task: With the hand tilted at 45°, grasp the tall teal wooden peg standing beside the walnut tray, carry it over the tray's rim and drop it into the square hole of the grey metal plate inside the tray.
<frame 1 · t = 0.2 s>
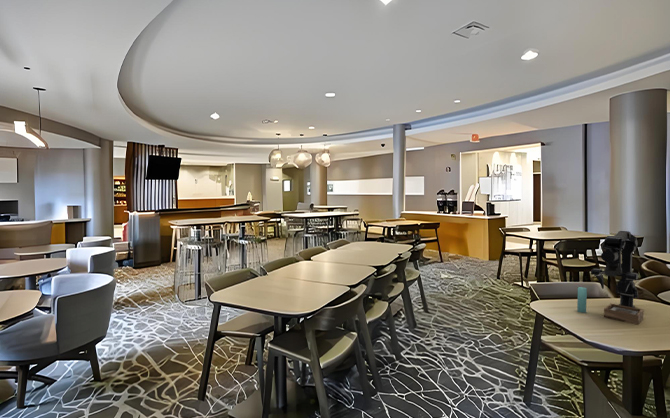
hand: (613, 290, 180), 14 cm above the table, tool pointing down, fingers open, 9 cm apart
tray: (623, 317, 180), on the table
peg: (581, 311, 190), on the table
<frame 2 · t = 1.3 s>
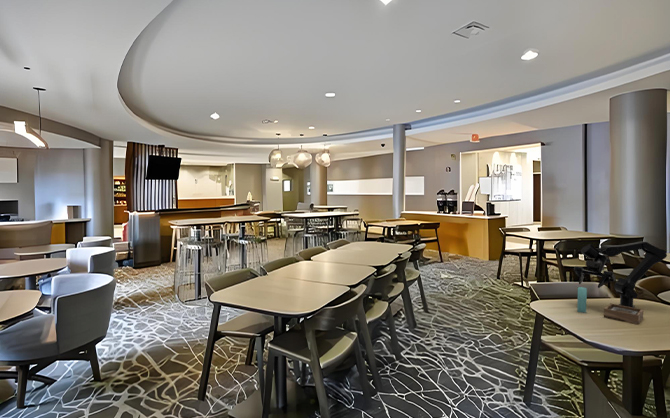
hand: (588, 285, 193), 13 cm above the table, tool tilted 45°, fingers open, 9 cm apart
nothing on the table moved.
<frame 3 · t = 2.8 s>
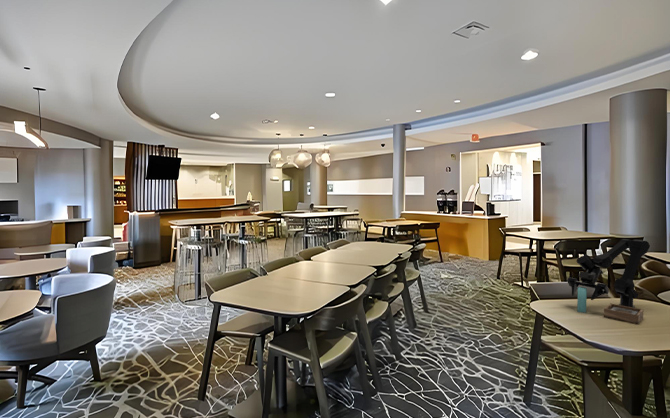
hand: (581, 297, 190), 8 cm above the table, tool tilted 45°, fingers open, 9 cm apart
nothing on the table moved.
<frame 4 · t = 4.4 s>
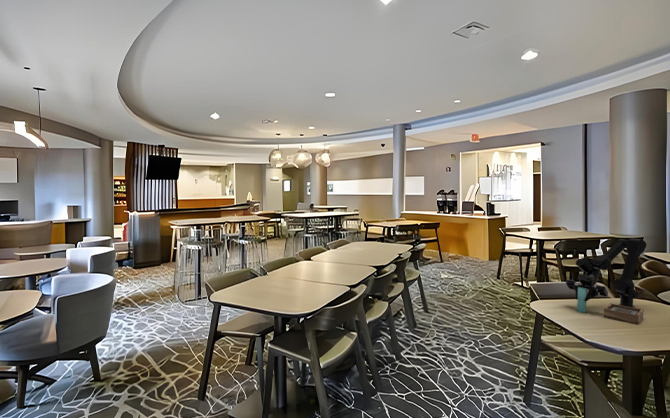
hand: (580, 300, 189), 7 cm above the table, tool tilted 45°, fingers closed on peg, 4 cm apart
peg: (581, 311, 190), on the table, touching gripper
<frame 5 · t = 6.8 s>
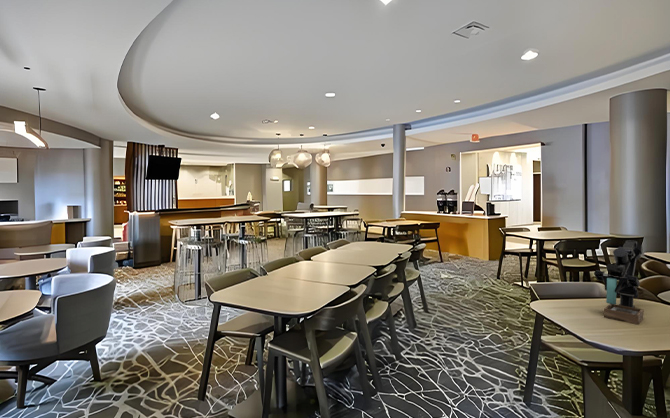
hand: (610, 291, 182), 13 cm above the table, tool tilted 45°, fingers closed on peg, 4 cm apart
peg: (611, 303, 183), point 7 cm above the table, touching gripper
when the fingers open (9 cm above the table, at t = 9.2 s): peg stays where it is, resting on tray.
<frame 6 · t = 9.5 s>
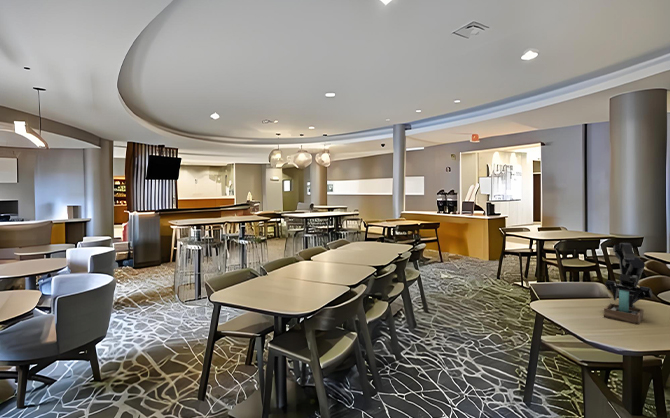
hand: (622, 301, 179), 9 cm above the table, tool tilted 45°, fingers open, 7 cm apart
peg: (623, 315, 180), point 1 cm above the table, touching tray
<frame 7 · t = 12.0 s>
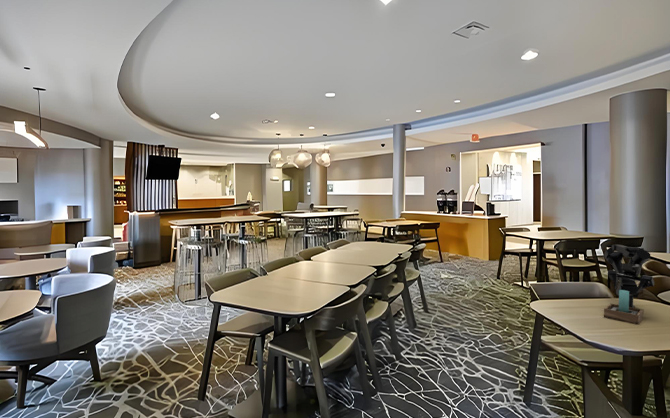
hand: (625, 290, 183), 13 cm above the table, tool tilted 45°, fingers open, 9 cm apart
nothing on the table moved.
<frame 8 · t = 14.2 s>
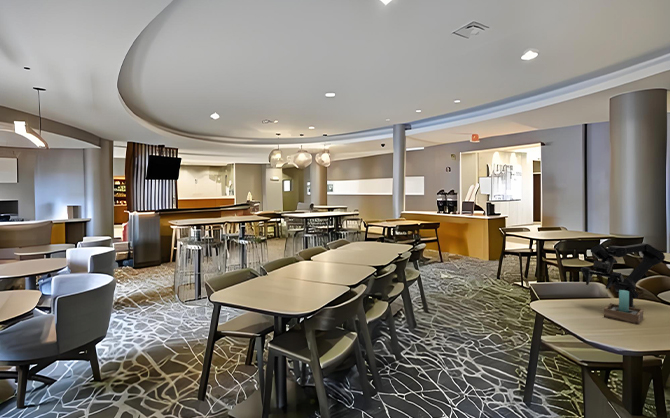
hand: (596, 286, 190), 14 cm above the table, tool tilted 45°, fingers open, 9 cm apart
nothing on the table moved.
at the end: peg 0.0 cm off-centre on the tray, point 1.0 cm above the tray's base; peg tilted 0°; the gripper is holding nothing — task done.
